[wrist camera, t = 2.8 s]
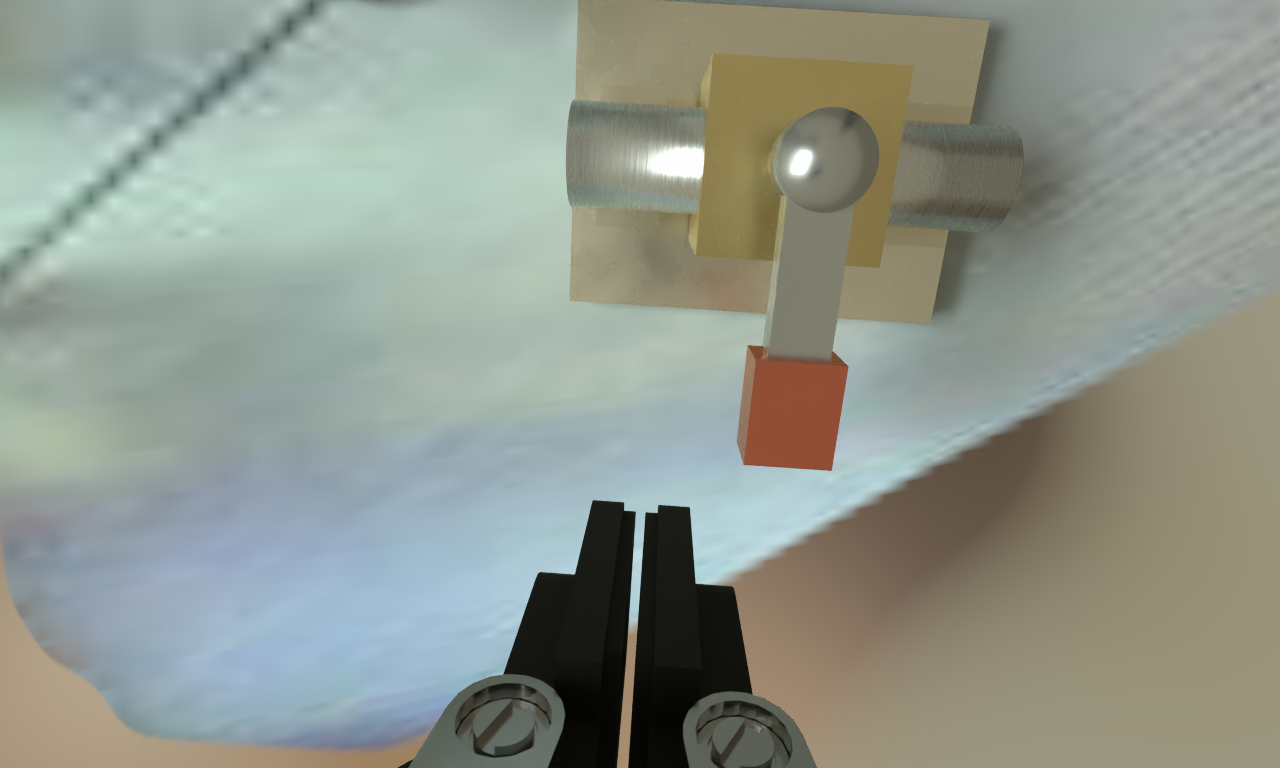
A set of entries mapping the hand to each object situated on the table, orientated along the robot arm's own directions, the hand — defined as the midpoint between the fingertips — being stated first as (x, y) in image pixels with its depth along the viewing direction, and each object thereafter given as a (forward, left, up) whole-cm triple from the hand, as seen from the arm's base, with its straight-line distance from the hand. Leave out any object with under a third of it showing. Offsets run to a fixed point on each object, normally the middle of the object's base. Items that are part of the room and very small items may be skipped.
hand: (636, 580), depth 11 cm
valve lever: (-4, +4, -10) cm, 11 cm away
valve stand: (-7, +4, -20) cm, 22 cm away
